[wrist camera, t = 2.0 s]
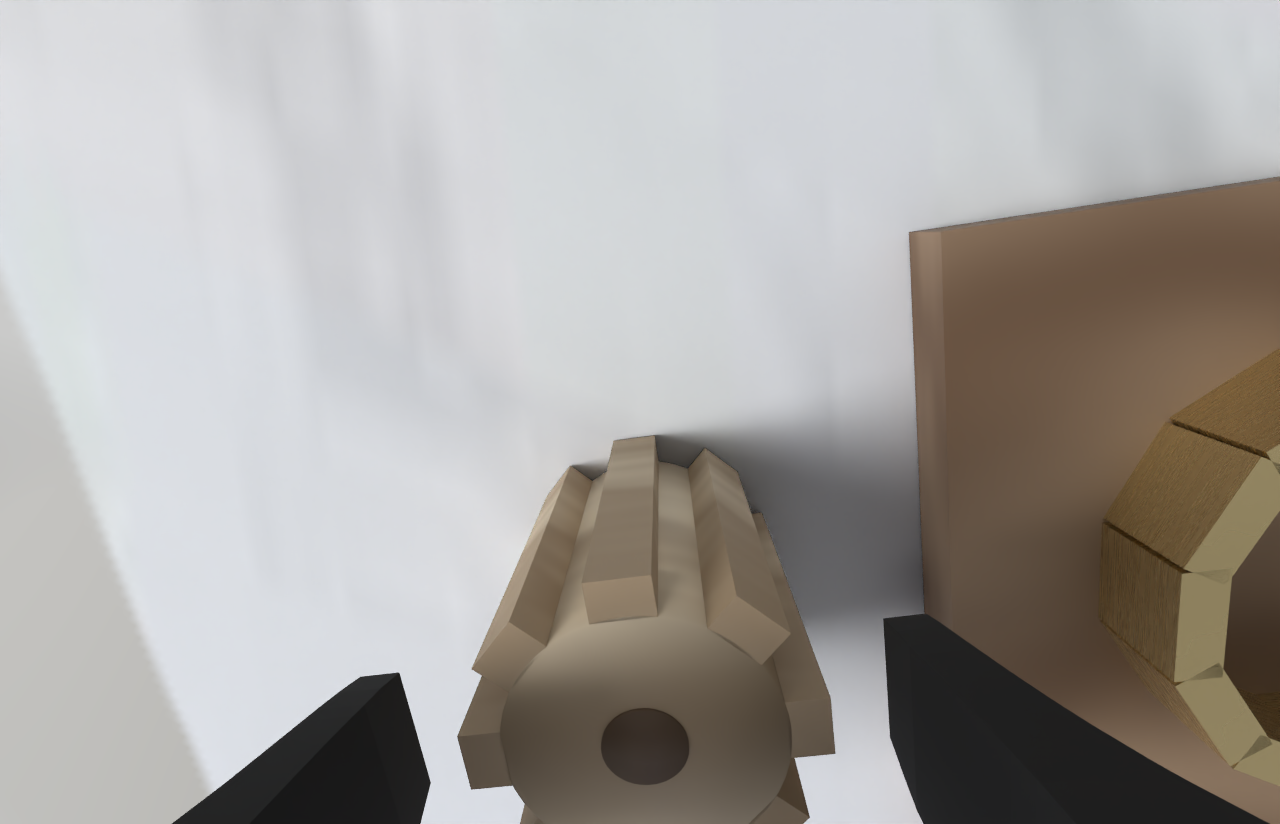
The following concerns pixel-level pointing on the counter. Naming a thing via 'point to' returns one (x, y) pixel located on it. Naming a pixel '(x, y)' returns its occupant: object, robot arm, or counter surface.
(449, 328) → the counter surface
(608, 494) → the maple gear
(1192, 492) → the brass ring socket
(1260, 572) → the walnut board
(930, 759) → the robot arm
